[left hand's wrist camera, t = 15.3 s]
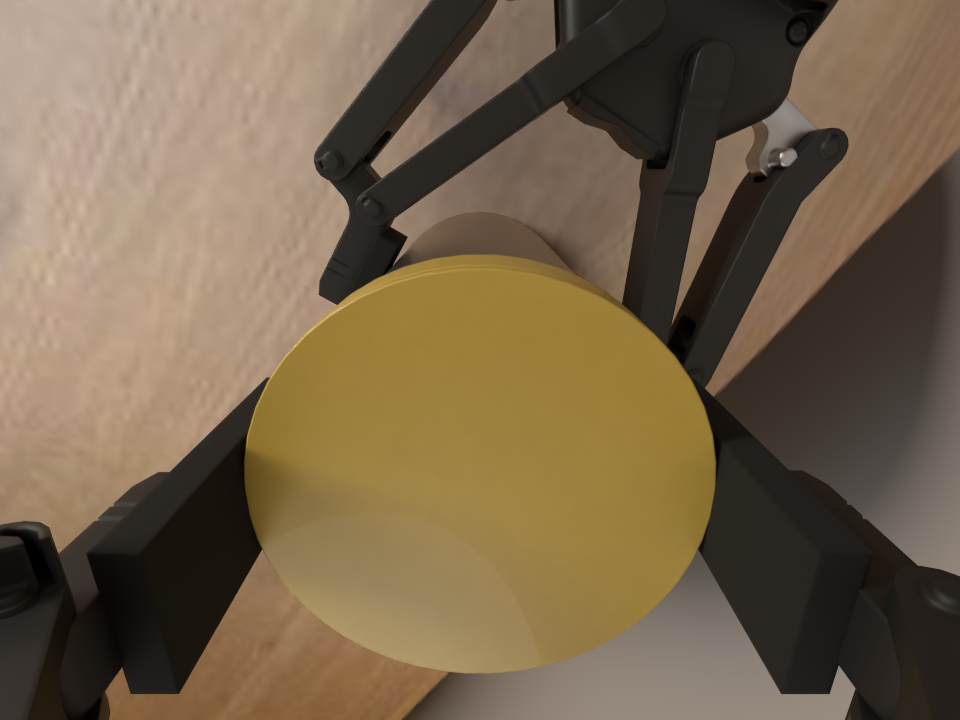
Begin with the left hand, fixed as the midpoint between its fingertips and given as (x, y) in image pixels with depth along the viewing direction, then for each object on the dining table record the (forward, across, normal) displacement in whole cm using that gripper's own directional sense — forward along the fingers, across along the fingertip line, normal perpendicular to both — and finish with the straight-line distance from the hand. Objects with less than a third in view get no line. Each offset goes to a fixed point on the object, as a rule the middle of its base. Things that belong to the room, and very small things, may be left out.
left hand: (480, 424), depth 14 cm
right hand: (+7, -2, -4) cm, 8 cm away
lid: (-3, 0, 0) cm, 3 cm away
